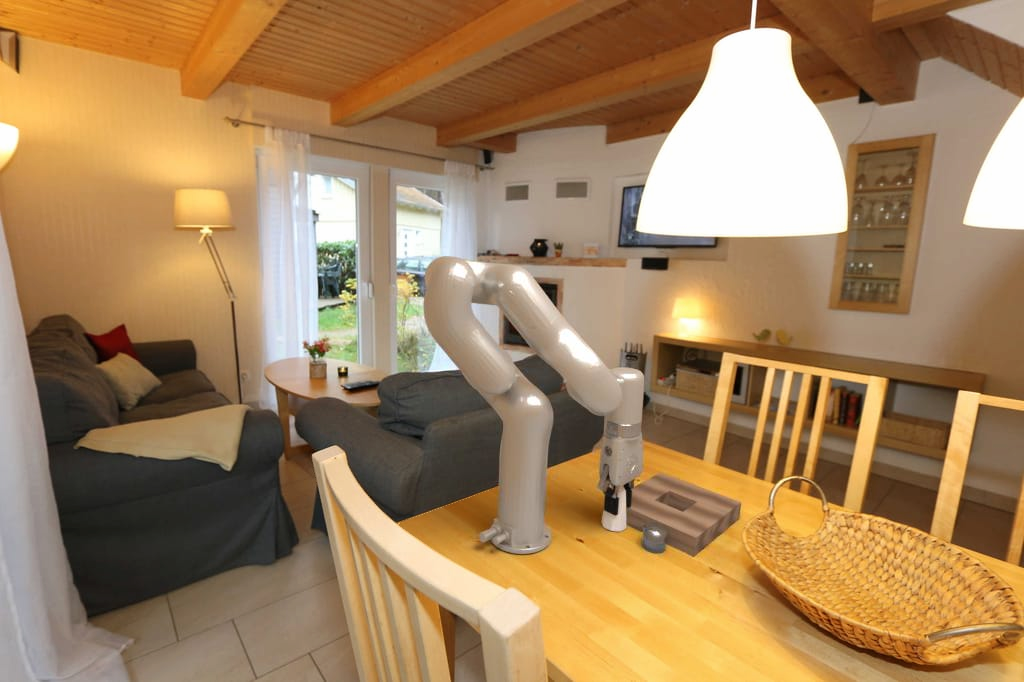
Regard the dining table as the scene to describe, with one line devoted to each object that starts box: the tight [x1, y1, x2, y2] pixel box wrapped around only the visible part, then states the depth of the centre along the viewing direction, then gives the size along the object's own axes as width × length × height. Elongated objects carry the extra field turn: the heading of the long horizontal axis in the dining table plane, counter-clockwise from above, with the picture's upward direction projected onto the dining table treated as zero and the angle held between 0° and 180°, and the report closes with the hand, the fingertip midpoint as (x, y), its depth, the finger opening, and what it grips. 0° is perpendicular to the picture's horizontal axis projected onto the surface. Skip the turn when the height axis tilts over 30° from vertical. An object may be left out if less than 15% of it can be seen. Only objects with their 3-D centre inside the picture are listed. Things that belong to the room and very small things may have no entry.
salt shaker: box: [601, 484, 627, 533], centre depth 107 cm, size 5×5×11 cm
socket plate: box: [626, 472, 742, 558], centre depth 112 cm, size 22×20×4 cm
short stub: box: [641, 523, 667, 555], centre depth 100 cm, size 5×5×4 cm
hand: (617, 508), depth 107 cm, fingers open, 4 cm apart
